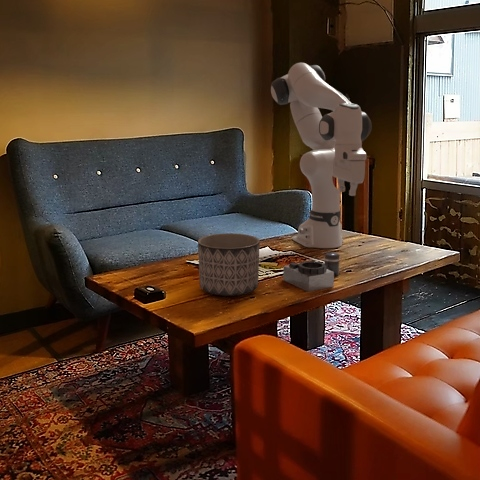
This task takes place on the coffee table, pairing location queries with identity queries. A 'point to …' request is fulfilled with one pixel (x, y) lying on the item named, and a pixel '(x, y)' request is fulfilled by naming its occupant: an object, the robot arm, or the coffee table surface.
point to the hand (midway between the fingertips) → (347, 193)
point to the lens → (332, 262)
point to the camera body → (309, 275)
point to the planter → (228, 263)
